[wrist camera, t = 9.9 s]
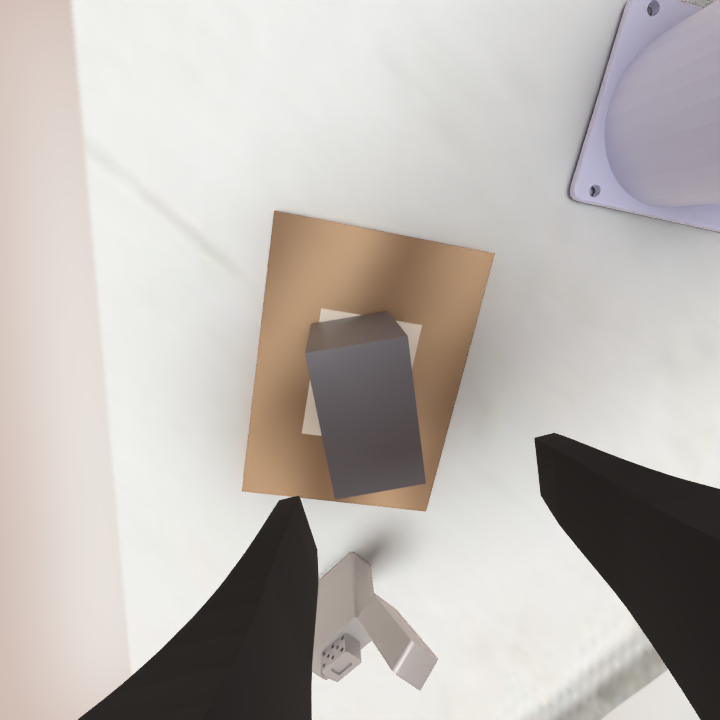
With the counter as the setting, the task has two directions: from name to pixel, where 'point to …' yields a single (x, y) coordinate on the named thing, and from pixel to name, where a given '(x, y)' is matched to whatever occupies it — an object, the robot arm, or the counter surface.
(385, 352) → the block
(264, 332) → the board
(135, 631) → the counter surface
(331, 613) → the lighter
